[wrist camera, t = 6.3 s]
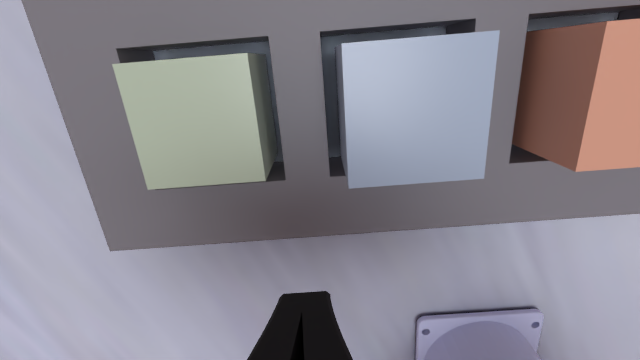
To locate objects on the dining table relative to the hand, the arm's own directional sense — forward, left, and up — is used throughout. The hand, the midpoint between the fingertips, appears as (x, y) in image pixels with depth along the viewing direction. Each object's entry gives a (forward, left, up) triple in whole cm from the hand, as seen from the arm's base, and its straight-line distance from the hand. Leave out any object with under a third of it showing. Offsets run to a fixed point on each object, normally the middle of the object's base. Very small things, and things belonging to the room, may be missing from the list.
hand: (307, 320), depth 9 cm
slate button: (+5, -4, -8) cm, 10 cm away
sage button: (+5, +4, -9) cm, 11 cm away
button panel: (+5, -4, -9) cm, 11 cm away
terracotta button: (+5, -12, -8) cm, 15 cm away
